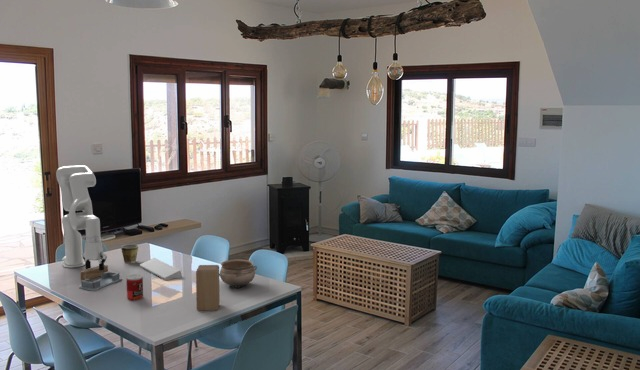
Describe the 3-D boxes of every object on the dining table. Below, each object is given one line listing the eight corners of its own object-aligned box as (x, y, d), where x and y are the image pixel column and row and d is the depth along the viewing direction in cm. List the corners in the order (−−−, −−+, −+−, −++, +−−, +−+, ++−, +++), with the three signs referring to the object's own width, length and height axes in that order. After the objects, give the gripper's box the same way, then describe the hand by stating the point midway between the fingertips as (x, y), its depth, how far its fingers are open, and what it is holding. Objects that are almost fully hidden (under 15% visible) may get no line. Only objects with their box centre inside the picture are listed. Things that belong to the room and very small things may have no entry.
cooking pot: (247, 277, 319) (247, 256, 317) (266, 285, 305) (266, 263, 303) (208, 285, 303) (208, 263, 301) (226, 294, 289) (226, 271, 287)
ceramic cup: (141, 262, 347) (141, 246, 346) (126, 265, 340) (126, 249, 339) (131, 258, 356) (130, 242, 355) (116, 261, 349) (115, 245, 348)
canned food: (134, 301, 276) (133, 280, 275) (123, 298, 280) (122, 277, 279) (146, 297, 282) (146, 276, 281) (135, 294, 287) (135, 273, 285)
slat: (80, 280, 310) (80, 271, 309) (102, 272, 324) (102, 264, 324) (86, 281, 308) (85, 272, 308) (108, 273, 323) (107, 265, 322)
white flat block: (166, 285, 312) (182, 277, 318) (164, 278, 310) (180, 270, 316) (141, 271, 337) (156, 264, 343) (139, 264, 336) (154, 257, 342)
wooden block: (199, 304, 274) (198, 264, 271) (219, 303, 274) (219, 264, 272) (196, 311, 264) (195, 270, 261) (217, 311, 265) (217, 270, 262)
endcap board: (79, 288, 295) (78, 281, 295) (107, 277, 315) (107, 270, 314) (93, 290, 292) (93, 283, 291) (122, 279, 311) (121, 273, 311)
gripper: (76, 239, 313) (78, 269, 315) (100, 241, 307) (102, 272, 308) (86, 237, 320) (88, 266, 322) (110, 239, 314) (111, 269, 315)
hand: (94, 269), depth 315 cm, fingers open, 9 cm apart
